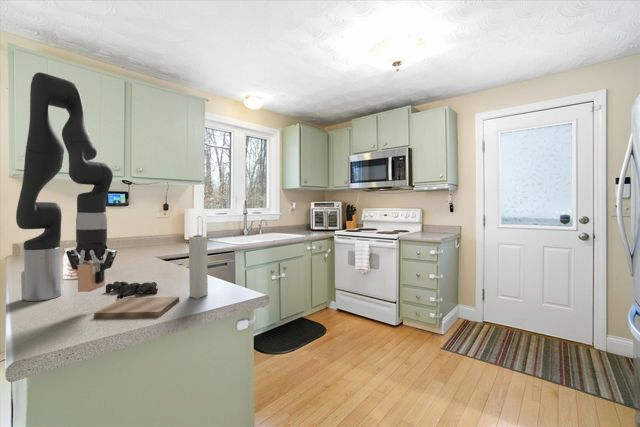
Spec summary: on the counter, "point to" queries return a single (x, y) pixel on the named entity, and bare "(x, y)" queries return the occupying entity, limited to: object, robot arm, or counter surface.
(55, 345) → the counter surface
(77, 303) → the counter surface
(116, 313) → the board
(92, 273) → the labeled cardboard box
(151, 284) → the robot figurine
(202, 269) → the paper towel roll
